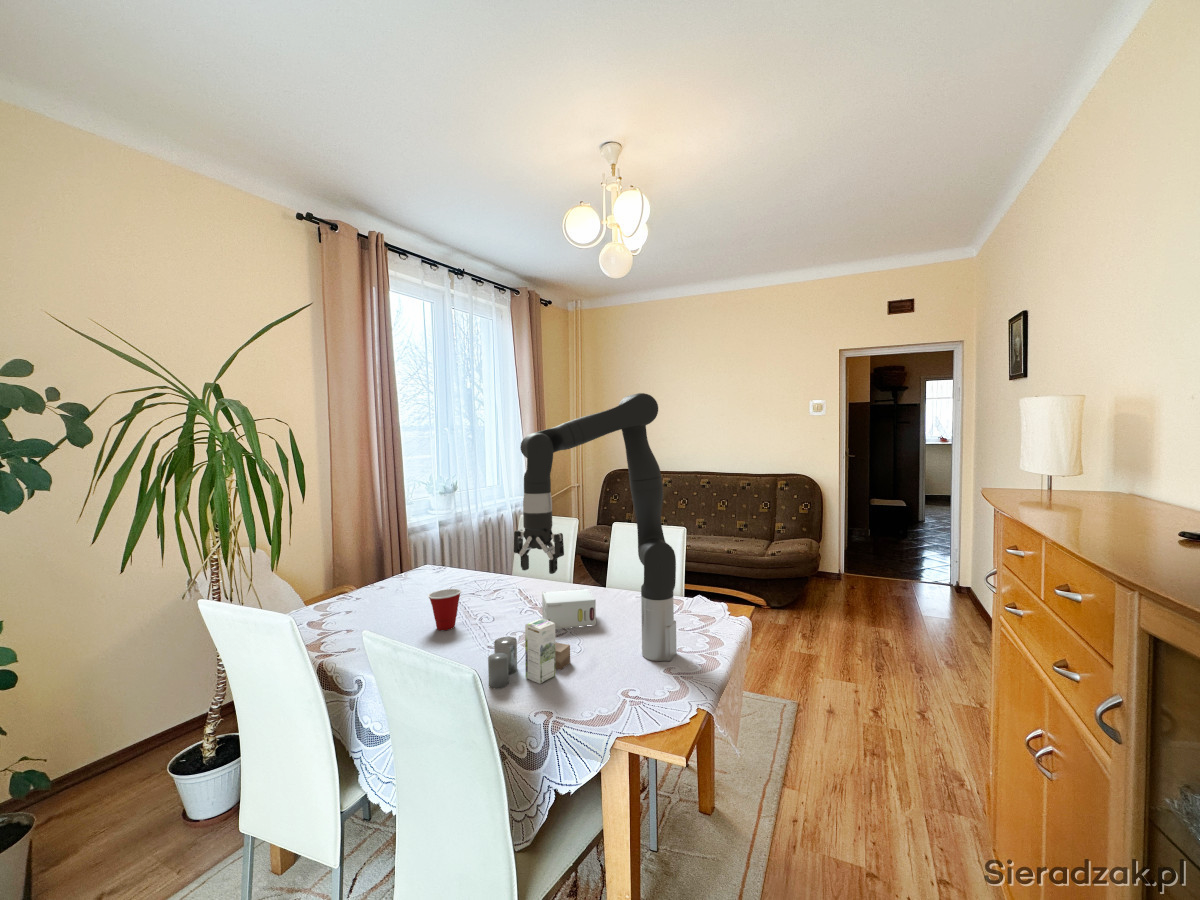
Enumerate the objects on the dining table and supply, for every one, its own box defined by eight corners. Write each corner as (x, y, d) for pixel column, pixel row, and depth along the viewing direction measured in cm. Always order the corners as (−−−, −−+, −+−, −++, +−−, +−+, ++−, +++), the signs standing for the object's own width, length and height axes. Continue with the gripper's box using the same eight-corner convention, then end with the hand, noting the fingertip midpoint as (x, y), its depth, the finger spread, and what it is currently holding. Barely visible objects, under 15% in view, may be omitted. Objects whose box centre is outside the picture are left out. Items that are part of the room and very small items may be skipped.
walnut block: (570, 662, 141) (569, 645, 141) (561, 670, 137) (560, 652, 137) (555, 659, 143) (554, 642, 143) (545, 666, 139) (545, 648, 139)
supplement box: (546, 631, 164) (545, 603, 164) (542, 617, 177) (541, 591, 177) (596, 626, 168) (596, 598, 168) (589, 613, 181) (588, 587, 181)
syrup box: (541, 670, 137) (539, 617, 136) (556, 676, 133) (555, 622, 132) (525, 678, 132) (524, 623, 132) (540, 685, 128) (539, 628, 128)
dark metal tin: (521, 667, 138) (521, 638, 138) (508, 677, 133) (507, 647, 133) (504, 663, 141) (503, 635, 141) (490, 672, 136) (489, 643, 136)
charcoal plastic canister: (512, 681, 131) (511, 654, 130) (500, 690, 126) (499, 662, 126) (497, 677, 133) (496, 651, 133) (484, 686, 128) (484, 659, 128)
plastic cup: (448, 619, 177) (447, 585, 176) (468, 625, 170) (468, 590, 170) (421, 629, 168) (420, 593, 167) (442, 636, 161) (441, 599, 161)
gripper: (568, 509, 132) (569, 571, 132) (523, 506, 138) (525, 565, 138) (552, 513, 125) (554, 578, 125) (506, 510, 131) (508, 572, 132)
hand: (538, 571), depth 132 cm, fingers open, 8 cm apart
